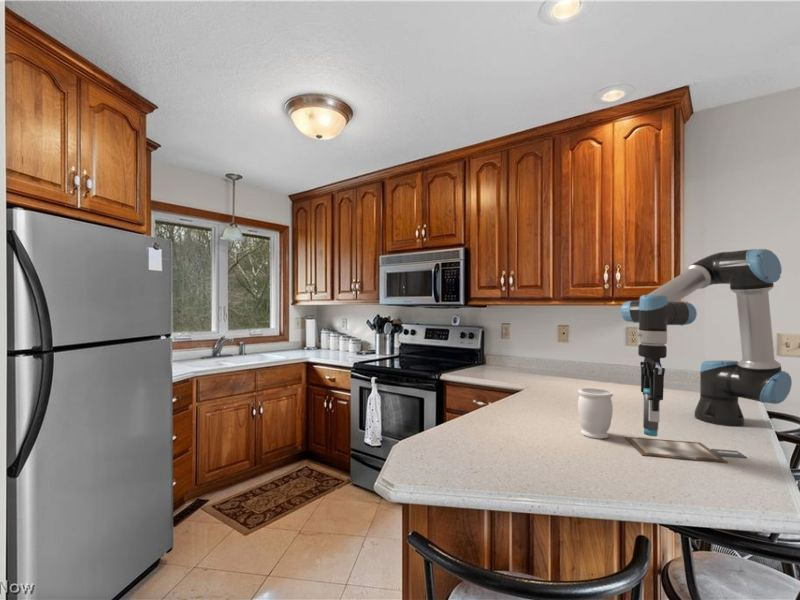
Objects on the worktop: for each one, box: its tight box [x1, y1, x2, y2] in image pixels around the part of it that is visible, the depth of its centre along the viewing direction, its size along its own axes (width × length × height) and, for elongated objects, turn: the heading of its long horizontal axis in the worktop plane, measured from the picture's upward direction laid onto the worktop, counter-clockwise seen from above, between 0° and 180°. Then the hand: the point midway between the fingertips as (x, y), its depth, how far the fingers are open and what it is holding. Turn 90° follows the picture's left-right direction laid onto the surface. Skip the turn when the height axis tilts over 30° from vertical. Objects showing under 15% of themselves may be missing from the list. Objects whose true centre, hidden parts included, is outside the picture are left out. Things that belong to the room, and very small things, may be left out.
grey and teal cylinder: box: [642, 388, 659, 437], centre depth 129 cm, size 4×4×14 cm
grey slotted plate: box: [710, 448, 748, 459], centre depth 124 cm, size 7×5×1 cm
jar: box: [577, 387, 614, 440], centre depth 140 cm, size 11×10×15 cm
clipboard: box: [625, 436, 729, 464], centre depth 127 cm, size 22×16×1 cm
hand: (651, 418), depth 129 cm, fingers closed on grey and teal cylinder, 4 cm apart
